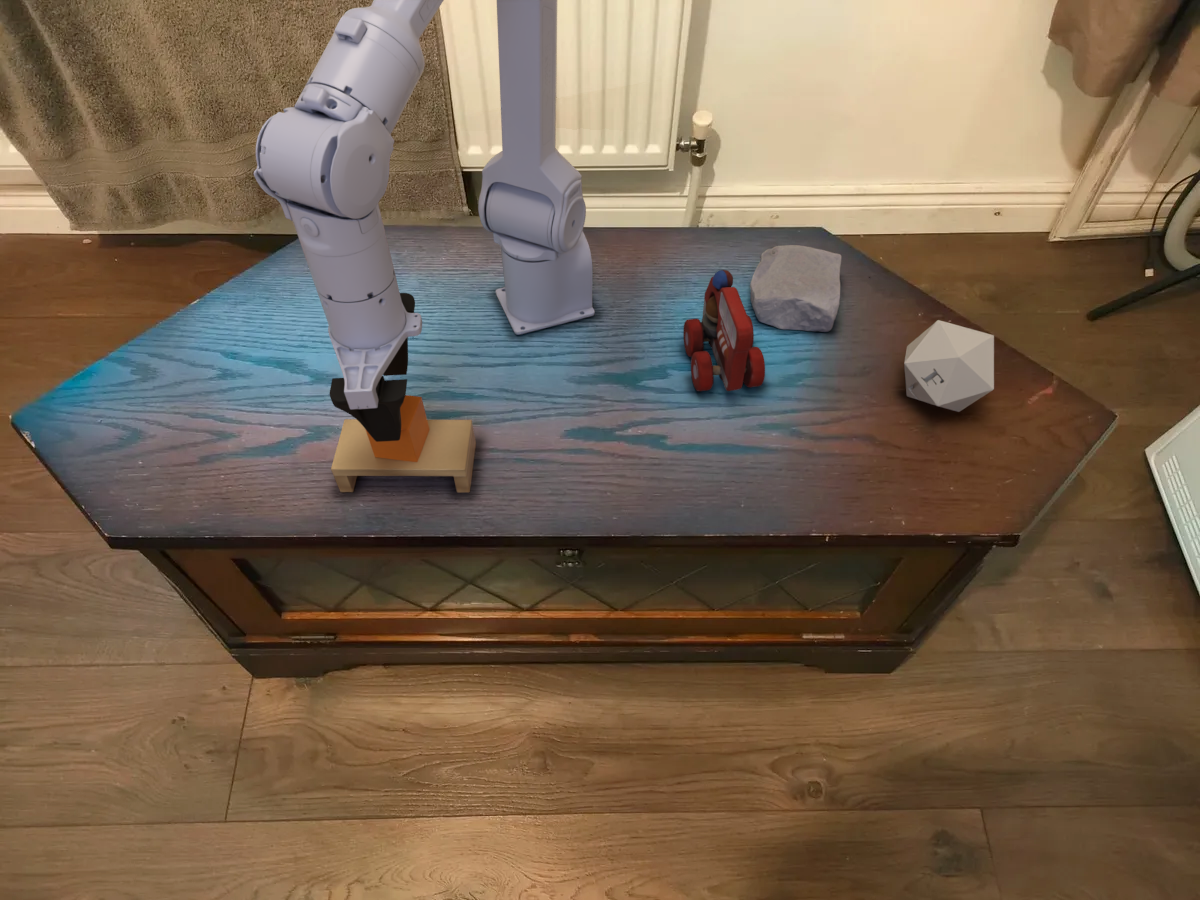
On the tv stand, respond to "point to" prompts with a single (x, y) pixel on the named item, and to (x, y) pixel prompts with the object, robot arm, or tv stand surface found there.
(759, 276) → the stone block
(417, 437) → the orange cube
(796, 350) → the tv stand surface
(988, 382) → the die
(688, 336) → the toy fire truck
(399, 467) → the shelf
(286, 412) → the tv stand surface
